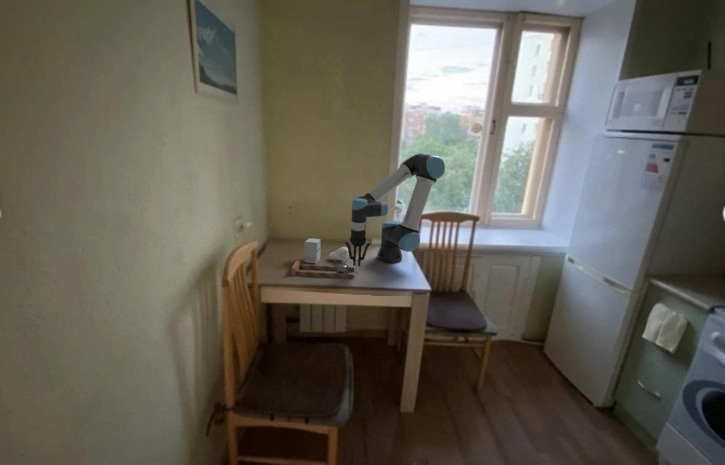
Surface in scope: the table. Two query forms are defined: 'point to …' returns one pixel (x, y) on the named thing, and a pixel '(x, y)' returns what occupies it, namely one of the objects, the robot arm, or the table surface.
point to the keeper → (342, 268)
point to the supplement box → (312, 250)
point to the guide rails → (321, 274)
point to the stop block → (295, 267)
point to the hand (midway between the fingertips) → (356, 271)
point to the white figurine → (340, 254)
